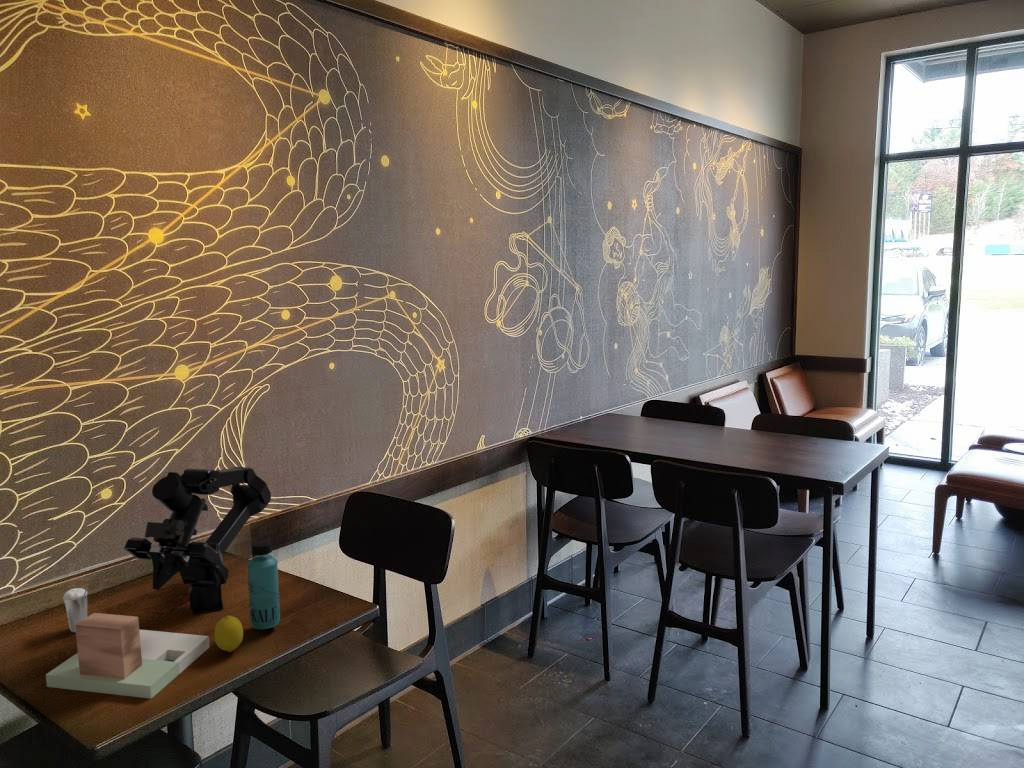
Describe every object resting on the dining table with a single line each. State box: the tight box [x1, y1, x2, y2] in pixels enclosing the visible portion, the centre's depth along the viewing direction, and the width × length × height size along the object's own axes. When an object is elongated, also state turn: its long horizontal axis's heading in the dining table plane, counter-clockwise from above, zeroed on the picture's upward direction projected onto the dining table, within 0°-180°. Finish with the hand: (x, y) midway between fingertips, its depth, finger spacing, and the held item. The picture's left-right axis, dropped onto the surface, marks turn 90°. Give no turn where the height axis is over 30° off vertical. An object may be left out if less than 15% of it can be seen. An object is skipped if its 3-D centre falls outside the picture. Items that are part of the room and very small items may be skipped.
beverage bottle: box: [246, 540, 282, 630], centre depth 163 cm, size 6×7×20 cm
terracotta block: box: [75, 612, 142, 679], centre depth 143 cm, size 5×10×10 cm, turn 80°
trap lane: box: [45, 628, 211, 700], centre depth 150 cm, size 19×22×2 cm
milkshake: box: [62, 587, 88, 634], centre depth 164 cm, size 4×5×10 cm
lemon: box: [214, 615, 244, 653], centre depth 155 cm, size 6×6×8 cm
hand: (155, 589), depth 156 cm, fingers closed
